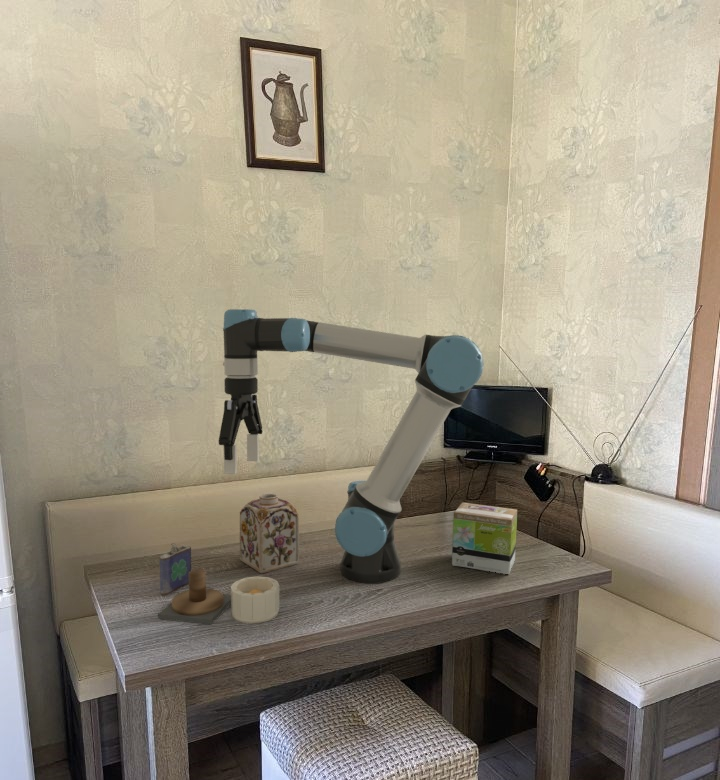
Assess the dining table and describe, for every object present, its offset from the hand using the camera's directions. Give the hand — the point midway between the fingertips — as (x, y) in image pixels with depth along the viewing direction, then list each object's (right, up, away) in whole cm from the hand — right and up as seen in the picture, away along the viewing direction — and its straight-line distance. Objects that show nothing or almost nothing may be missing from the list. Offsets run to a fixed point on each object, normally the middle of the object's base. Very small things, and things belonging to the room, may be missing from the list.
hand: (242, 467), depth 147 cm
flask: (-16, -29, +1) cm, 33 cm away
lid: (-8, -29, -10) cm, 31 cm away
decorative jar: (+4, -27, +17) cm, 33 cm away
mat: (-8, -30, -10) cm, 32 cm away
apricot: (+5, -30, -11) cm, 33 cm away
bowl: (+5, -30, -11) cm, 33 cm away
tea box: (+60, -28, +17) cm, 68 cm away
